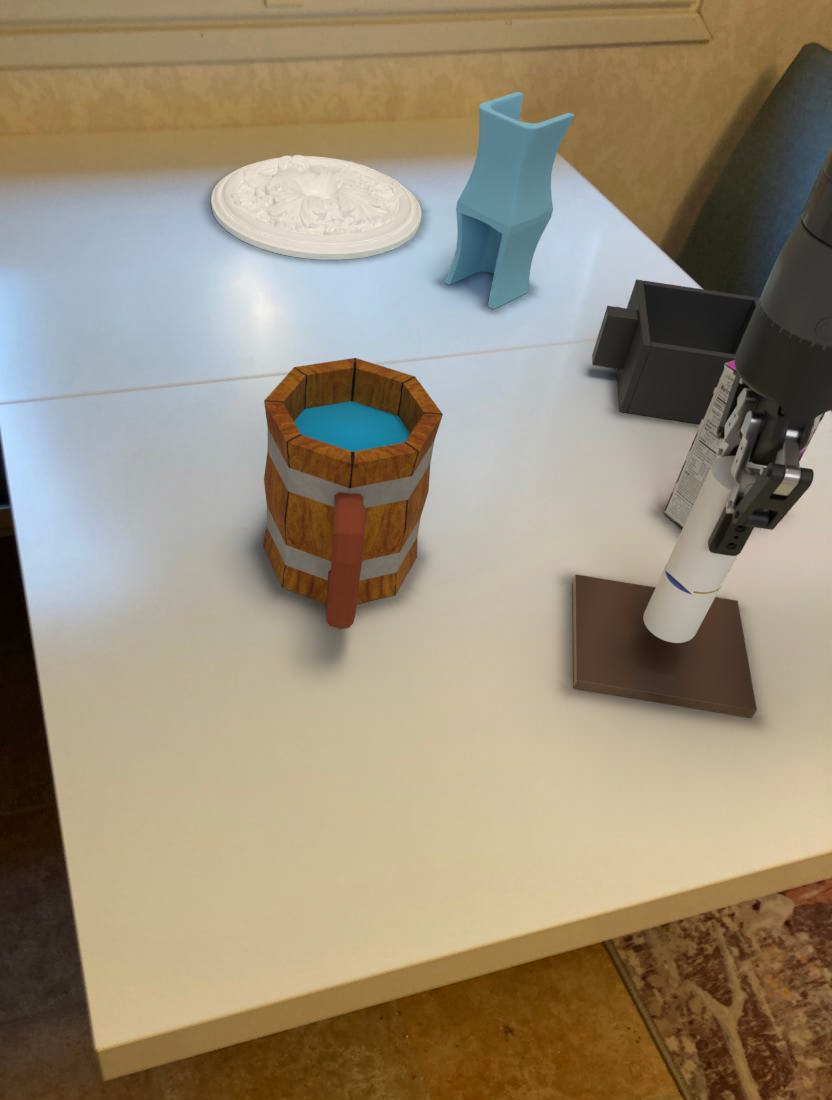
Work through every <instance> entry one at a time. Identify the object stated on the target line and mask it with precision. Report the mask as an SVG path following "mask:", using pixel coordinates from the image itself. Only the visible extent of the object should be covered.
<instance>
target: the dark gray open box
mask: <svg viewBox="0 0 832 1100" xmlns="http://www.w3.org/2000/svg"><path fill="white" fill-rule="evenodd" d="M759 299H760V297H757V296H751V295H744V294H738V293H731V292H730V293H729V292H724V291H717V290H710V289H703V288H697V287H689V286H684V285H677V284H671V283H670V284H669V283H663V282H657V281H650V280H643V279H638V278H637V279H635V282H634V285H633V288H632V290H631V293H630V297H629V299H628V303H627V305H626V306H627V307H619V306H614V305H613V306H612V305H606V309H605V312H604V315H603V318H602V322H601V325H600V328H599V331H598V334H597V338H596V341H595V343H594V347H593V348H594V349H593V351H592V354H591V365H592V366H595V367H596V366H597V367H603V368H609V369H616V375H617V376H616V377H617V392H618V408H619V412H621V413H626V414H632V415H639V416H645V417H652V418H657V419H664V420H671V421H679V422H684V423H690V424H691V423H692V424H697V425H700V423H701V420H702V418H703V415H704V413H705V411H706V408H707V406H708V403H709V401H710V399H711V396H712V394H713V392H714V389H715V387H716V384H717V382H718V379H719V377H720V375H721V372H722V370H723V367H724V364H725V363H728V362H730V361H733V360H735V354H736V351H737V349H738V347H739V344H740V342H741V340H742V338H743V335H744V333H745V331H746V328H747V326H748V324H749V322H750V319H751V317H752V315H753V312H754V310H755V308H756V306H757V303H758V301H759Z"/></svg>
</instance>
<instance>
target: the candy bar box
mask: <svg viewBox="0 0 832 1100" xmlns="http://www.w3.org/2000/svg"><path fill="white" fill-rule="evenodd" d="M736 373H737V370H736V367H735V360H733V361H730V362H728V363H725V364H724V367H723V370H722V372H721V375H720V377H719V379H718V382H717V384H716V387H715V389H714V392H713V394H712V396H711V399H710V401H709V403H708V406H707V408H706V411H705V413H704V415H703V418H702V420H701V423H700V424H699V426H698V428H697V431H696V434H695V436H694V438H693V441H692V443H691V445H690V448H689V450H688V452H687V455H686V457H685V460H684V463H683V465H682V467H681V470H680V472H679V474H678V477H677V479H676V482H675V484H674V486H673V489H672V490H671V494H670V496H669V499H668V500H667V504H666V506H665V509H664V510H663V513H664V515H665V516H667V517H668V518H669V519H670V520H671V521H672V522H673V523H674V524H676V525H677V526H679V528H681V529H683V527H684V525H685V523H686V520H687V518H688V516H689V514H690V512H691V510H692V507H693V505H694V503H695V501H696V499H697V497H698V494H699V492H700V490H701V488H702V486H703V483H704V481H705V479H706V477H707V475H708V473H709V470H710V468H711V466H712V464H713V462H714V461H715V460H717V458H716V456H717V455H716V452H717V449H718V447H719V445H720V444H721V442H722V441H723V439H719V438H717V428H718V426H719V424H720V421H721V418H722V415H723V412H724V409H725V406H726V403H727V400H728V397H729V394H730V391H731V388H732V385H733V382H734V379H735V376H736ZM825 414H826V412H825V413H823V414H821V415H819V416H818V417H816V418H815V422H814V429H813V432H812V435H811V437H810V440H809V442H808V445H807V446H806V447H805V448H804V449H802V450H801V452H800V455H799V463H800V462H801V460H802V458H803V456H804V454H805V452H806V451H807V449H808V447H809V444H810V443H811V441H812V438H813V437H814V435H815V433H816V431H817V430H818V428H819V425H820V424H821V421H822V420H823V418H824V416H825ZM762 466H764V465H762ZM764 467H765V468H766V467H767V466H764Z"/></svg>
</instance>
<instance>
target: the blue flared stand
mask: <svg viewBox="0 0 832 1100" xmlns="http://www.w3.org/2000/svg"><path fill="white" fill-rule="evenodd" d="M523 101H524V93H523V92H520V91H515V92H512V93H509V94H506V95H503V96H499V97H496V98H494V99H493V98H492V99H490V100H487V101H484V102H481V103H480V104H479V106H478V118H479V121H478V122H479V123H478V125H479V126H478V127H479V128H478V129H479V130H478V132H479V133H478V146H477V152H476V158H475V161H474V165H473V168H472V171H471V173H470V176H469V178H468V180H467V182H466V184H465V186H464V188H463V190H462V191H461V194H460V195H459V197H458V199H457V202H456V208H455V211H456V212H455V213H456V225H457V227H456V228H457V229H456V230H457V233H456V234H457V237H456V239H457V240H456V247H455V253H454V256H453V260H452V263H451V266H450V269H449V271H448V273H447V275H446V277H445V279H444V284H446V285H448V286H450V285H453V284H455V283H457V282H459V281H461V280H463V279H465V278H467V277H470V276H472V275H474V274H476V273H479V272H482V273H483V272H485V273H491V274H493V276H492V277H493V278H492V282H491V288H490V293H489V297H488V303H487V307H488V308H489V309H491V310H496V309H497V308H500V307H501V306H503V305H505V304H507V303H509V302H511V301H513V300H515V299H517V298H520V297H521V296H524V295H526V294H527V293H528V292H529V290H530V275H531V268H532V264H533V263H532V262H533V259H534V254H535V252H536V249H537V246H538V244H539V242H540V240H541V237H542V236H543V233H544V232H545V230H546V228H547V226H548V225H549V222H550V220H551V218H552V216H553V211H554V206H553V198H552V197H553V196H552V173H553V167H554V163H555V160H556V157H557V154H558V152H559V150H560V147H561V144H562V141H563V139H564V138H565V136H566V134H567V132H568V130H569V128H570V126H571V124H572V123H573V120H574V119H575V115H576V114H575V113H571V112H566V113H564V114H560V115H558V116H555V117H551V118H549V119H546V120H543V121H540V122H536V123H533V122H525V121H522V120H521V121H520V117H521V112H522V107H523Z"/></svg>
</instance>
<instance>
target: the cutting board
mask: <svg viewBox="0 0 832 1100" xmlns="http://www.w3.org/2000/svg"><path fill="white" fill-rule="evenodd" d="M655 588H656V586H651V585H650V586H649V585H643V584H637V583H631V582H625V581H619V580H613V579H607V578H601V577H594V576H588V575H583V574H582V575H581V574H575V575H574V577H573V581H572V639H573V640H572V641H573V643H572V645H573V646H572V647H573V648H572V649H573V653H572V654H573V688H574V689H577V690H582V691H583V690H584V691H590V692H595V693H600V694H607V695H613V696H617V697H618V696H619V697H625V698H631V699H637V700H643V701H649V702H655V703H662V704H665V705H666V704H667V705H673V706H679V707H684V708H691V709H697V710H703V711H709V712H715V713H720V714H726V715H733V716H739V717H745V718H753V717H754V716H755V714H756V713H757V710H758V709H757V704H756V697H755V691H754V686H753V681H752V674H751V668H750V665H749V664H750V663H749V658H748V653H747V646H746V640H745V635H744V629H743V623H742V617H741V611H740V607H739V601H738V600H736V599H730V598H725V597H724V598H723V597H718V596H716V597H715V599H714V601H713V603H712V604H711V606H710V608H709V610H708V612H707V614H706V616H705V618H704V619H703V621H702V623H701V625H700V627H699V629H698V631H697V633H696V634H695V636H694V637H693V638H692V639H691V640H689V641H687V642H683V643H672V642H668V641H664V640H662V639H660V638H658V637H656V636H655V635H654V634H652V633H651V632H650V631H649V630H648V629H647V627H646V625H645V623H644V620H643V615H644V612H645V610H646V608H647V606H648V603H649V601H650V599H651V597H652V595H653V593H654V590H655Z"/></svg>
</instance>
